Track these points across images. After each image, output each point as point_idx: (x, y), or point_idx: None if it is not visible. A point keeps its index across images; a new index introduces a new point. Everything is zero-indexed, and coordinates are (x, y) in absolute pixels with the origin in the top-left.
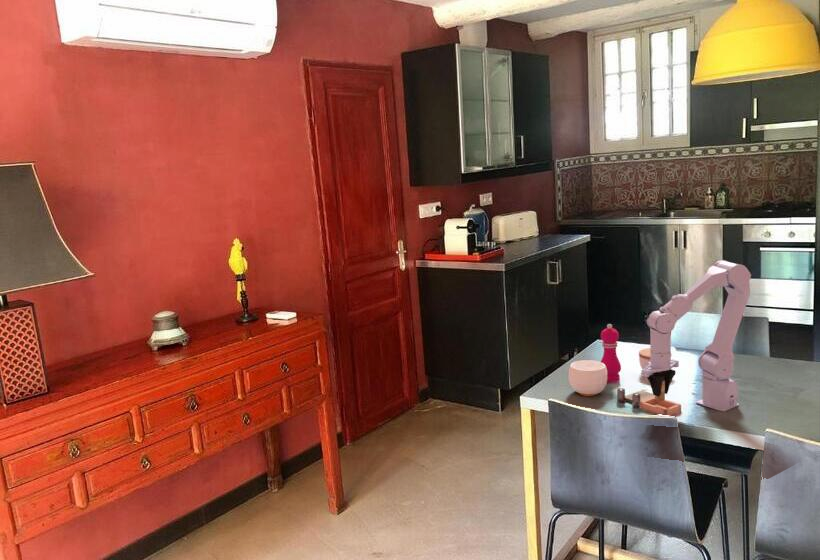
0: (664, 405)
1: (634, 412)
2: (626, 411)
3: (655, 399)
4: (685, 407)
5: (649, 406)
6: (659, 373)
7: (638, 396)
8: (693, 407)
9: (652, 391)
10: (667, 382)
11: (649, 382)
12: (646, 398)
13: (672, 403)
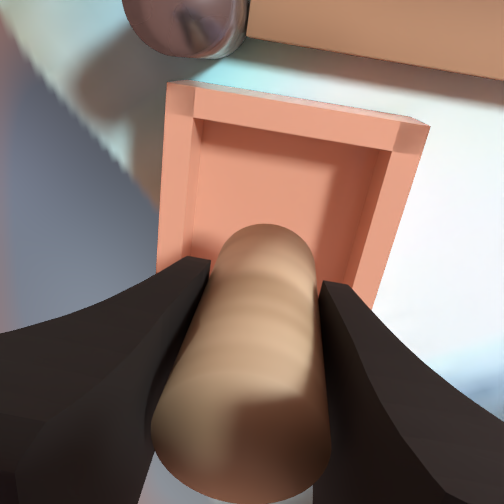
0: (356, 232)
1: (85, 83)
2: (48, 5)
3: (224, 244)
4: (441, 341)
5: (164, 198)
6: (387, 493)
7: (159, 49)
8: (470, 379)
9: (167, 268)
10: (315, 488)
11: (65, 317)
12: (416, 10)
13: None
